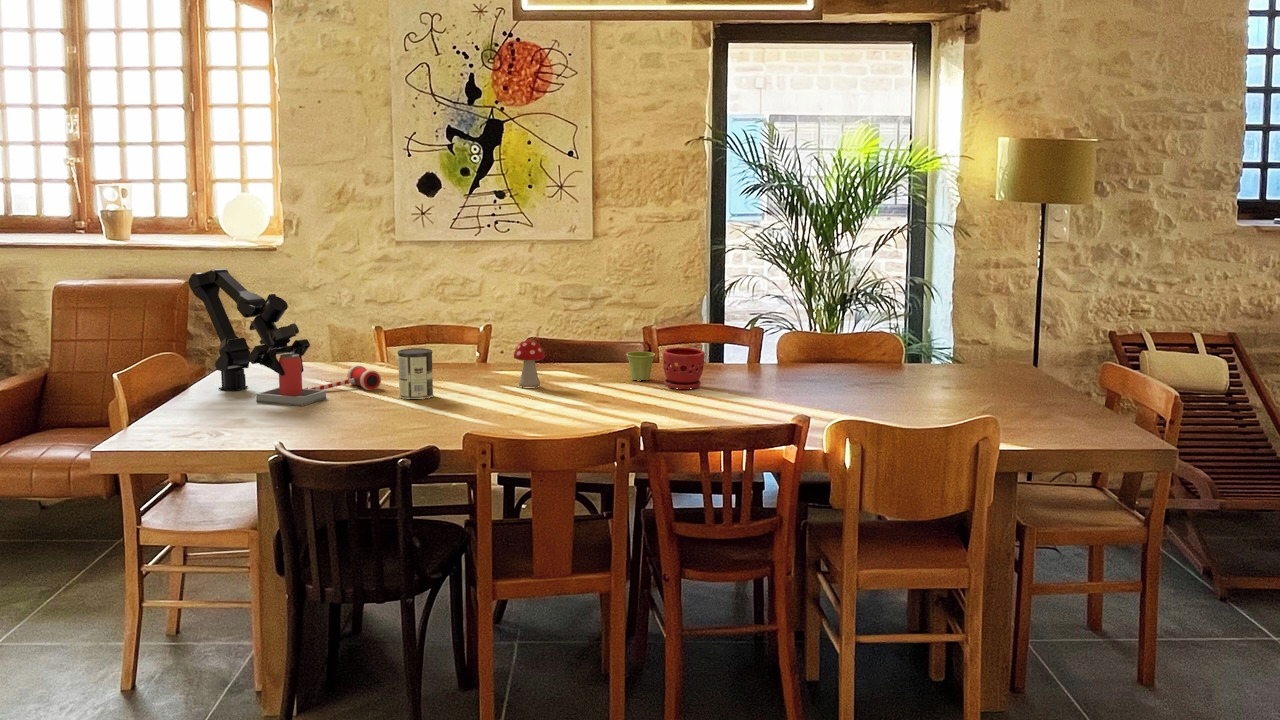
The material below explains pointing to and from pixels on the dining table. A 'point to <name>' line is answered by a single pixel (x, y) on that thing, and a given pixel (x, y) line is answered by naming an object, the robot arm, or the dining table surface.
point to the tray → (291, 397)
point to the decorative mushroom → (529, 362)
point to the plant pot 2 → (683, 367)
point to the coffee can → (415, 373)
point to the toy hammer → (357, 379)
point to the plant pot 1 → (640, 365)
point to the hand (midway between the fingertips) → (293, 373)
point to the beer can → (290, 375)
